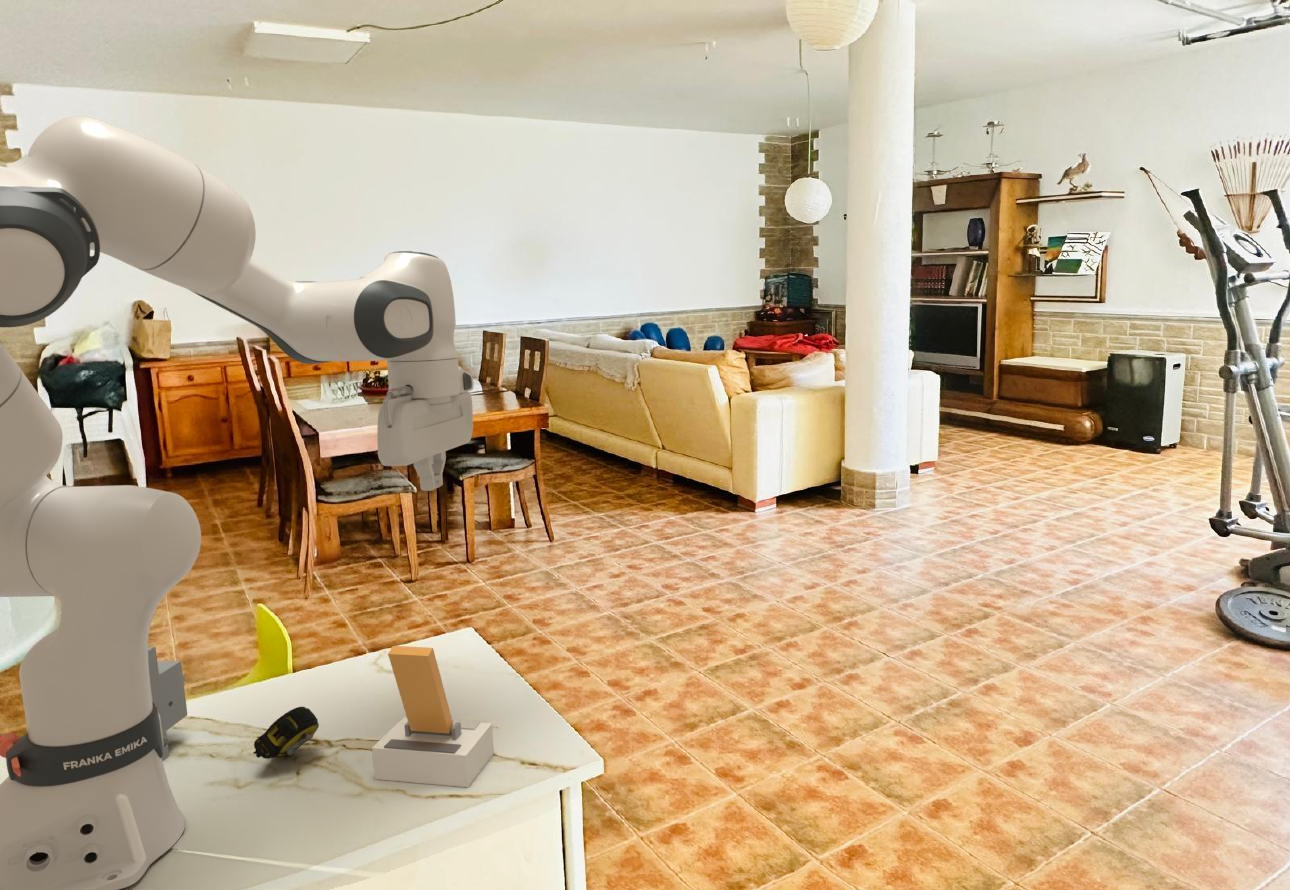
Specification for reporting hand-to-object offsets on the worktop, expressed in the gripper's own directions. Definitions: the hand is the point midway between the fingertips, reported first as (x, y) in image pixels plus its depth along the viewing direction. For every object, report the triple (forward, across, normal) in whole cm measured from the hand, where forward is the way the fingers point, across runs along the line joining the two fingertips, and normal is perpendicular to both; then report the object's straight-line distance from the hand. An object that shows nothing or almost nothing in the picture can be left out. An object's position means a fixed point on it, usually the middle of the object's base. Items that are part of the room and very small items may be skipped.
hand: (431, 488), depth 114 cm
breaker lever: (+28, -11, -3) cm, 30 cm away
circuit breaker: (+32, -16, +35) cm, 50 cm away
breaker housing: (+32, -11, -3) cm, 34 cm away
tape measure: (+32, -13, +16) cm, 38 cm away
